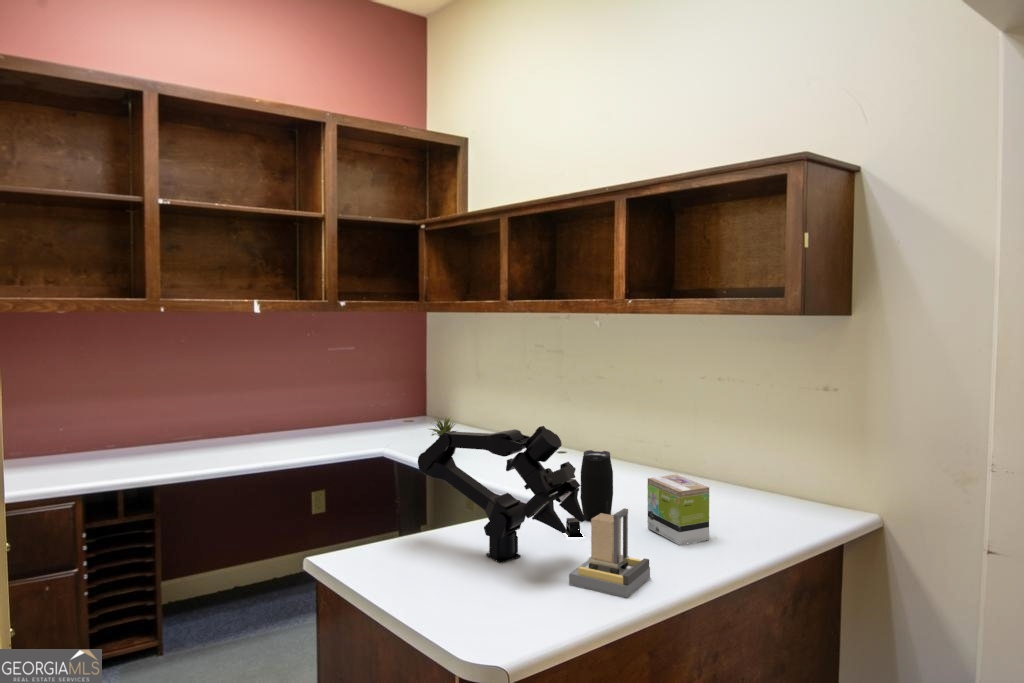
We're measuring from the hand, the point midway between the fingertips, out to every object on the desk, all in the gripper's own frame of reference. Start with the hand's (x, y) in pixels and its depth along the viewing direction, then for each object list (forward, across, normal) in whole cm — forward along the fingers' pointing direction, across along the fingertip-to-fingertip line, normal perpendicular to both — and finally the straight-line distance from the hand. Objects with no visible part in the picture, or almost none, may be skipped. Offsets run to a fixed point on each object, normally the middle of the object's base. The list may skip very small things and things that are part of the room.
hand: (574, 526), depth 163 cm
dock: (+14, 0, +2) cm, 14 cm away
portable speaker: (-2, +40, +18) cm, 44 cm away
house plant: (-68, +87, +84) cm, 139 cm away
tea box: (+16, +39, 0) cm, 42 cm away
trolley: (+12, 0, 0) cm, 12 cm away
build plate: (-1, +24, +18) cm, 30 cm away
